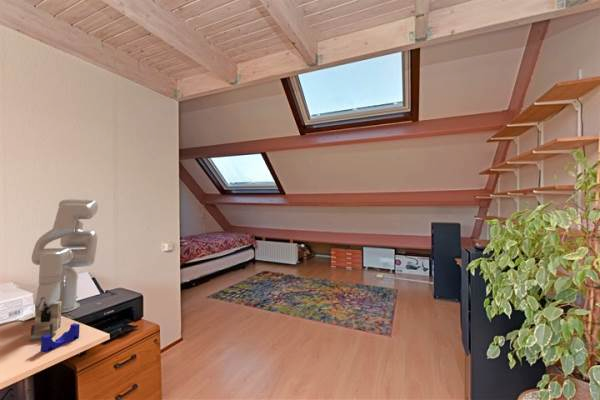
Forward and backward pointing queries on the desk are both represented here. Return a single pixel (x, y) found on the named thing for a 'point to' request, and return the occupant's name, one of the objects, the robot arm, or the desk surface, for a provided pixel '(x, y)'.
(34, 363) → the desk surface
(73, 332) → the blue cradle stand
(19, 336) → the desk surface
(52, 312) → the tan wooden block
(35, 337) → the offcut rack
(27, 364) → the desk surface
